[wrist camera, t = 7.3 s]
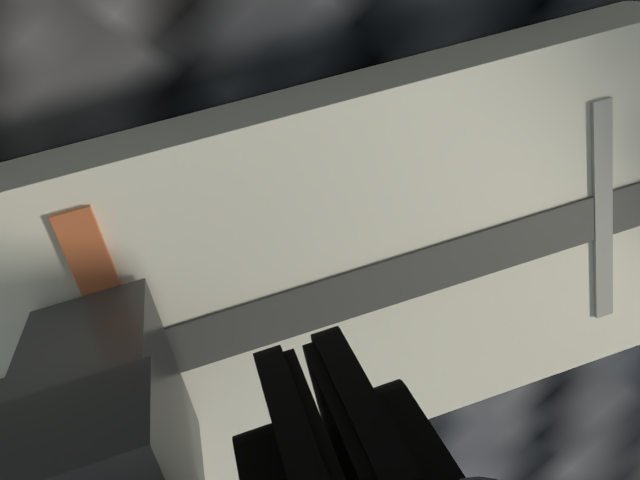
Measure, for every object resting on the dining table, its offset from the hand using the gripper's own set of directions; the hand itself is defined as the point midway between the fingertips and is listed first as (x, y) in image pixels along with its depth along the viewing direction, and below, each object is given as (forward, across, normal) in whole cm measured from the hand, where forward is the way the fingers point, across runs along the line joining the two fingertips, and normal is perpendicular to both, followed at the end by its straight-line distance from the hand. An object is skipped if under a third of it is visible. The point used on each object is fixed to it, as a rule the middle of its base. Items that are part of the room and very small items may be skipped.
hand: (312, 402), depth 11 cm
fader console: (+6, -1, 0) cm, 6 cm away
